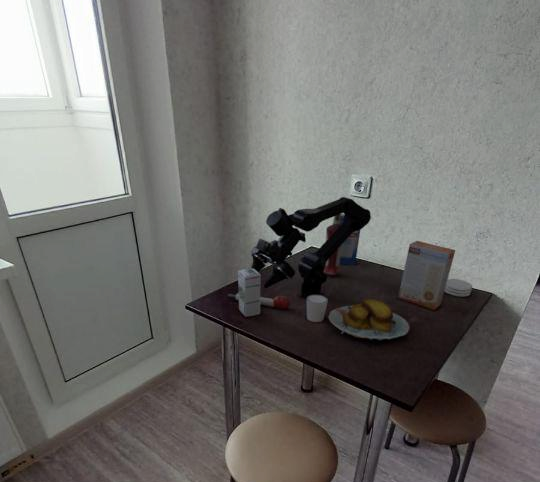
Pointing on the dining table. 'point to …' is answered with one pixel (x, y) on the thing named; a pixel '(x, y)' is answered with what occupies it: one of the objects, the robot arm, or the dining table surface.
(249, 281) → the syrup box
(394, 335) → the food on plate
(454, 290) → the coaster
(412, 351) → the dining table surface
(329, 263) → the liquor
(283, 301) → the baster
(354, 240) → the milk carton
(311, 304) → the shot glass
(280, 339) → the dining table surface
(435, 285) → the cracker box
